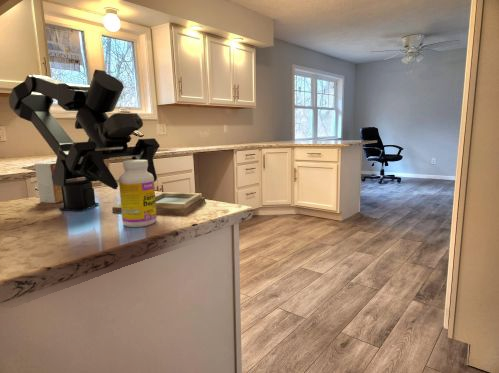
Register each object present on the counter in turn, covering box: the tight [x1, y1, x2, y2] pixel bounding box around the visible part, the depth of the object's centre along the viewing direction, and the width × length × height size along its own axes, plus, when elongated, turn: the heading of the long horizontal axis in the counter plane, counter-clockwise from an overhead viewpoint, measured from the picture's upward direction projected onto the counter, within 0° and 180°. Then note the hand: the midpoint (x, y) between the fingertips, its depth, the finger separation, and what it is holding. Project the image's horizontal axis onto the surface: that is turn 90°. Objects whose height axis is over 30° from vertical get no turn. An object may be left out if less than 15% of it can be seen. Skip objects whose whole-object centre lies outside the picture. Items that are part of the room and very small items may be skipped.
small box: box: [34, 161, 78, 204], centre depth 87 cm, size 8×6×10 cm
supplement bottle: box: [118, 159, 158, 228], centre depth 64 cm, size 7×7×13 cm
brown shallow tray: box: [111, 191, 206, 217], centre depth 78 cm, size 18×13×2 cm
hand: (137, 183), depth 64 cm, fingers open, 9 cm apart
